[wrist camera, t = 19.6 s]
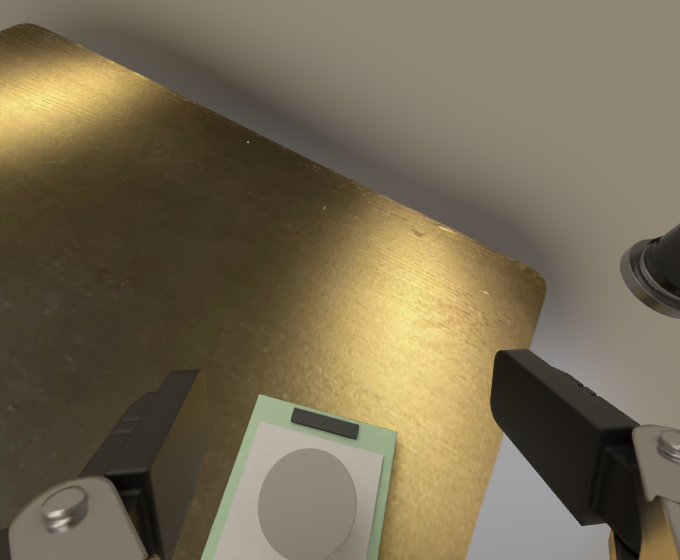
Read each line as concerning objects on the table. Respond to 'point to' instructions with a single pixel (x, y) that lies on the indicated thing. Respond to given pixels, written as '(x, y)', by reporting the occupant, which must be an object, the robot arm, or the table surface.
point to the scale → (283, 438)
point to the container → (307, 505)
